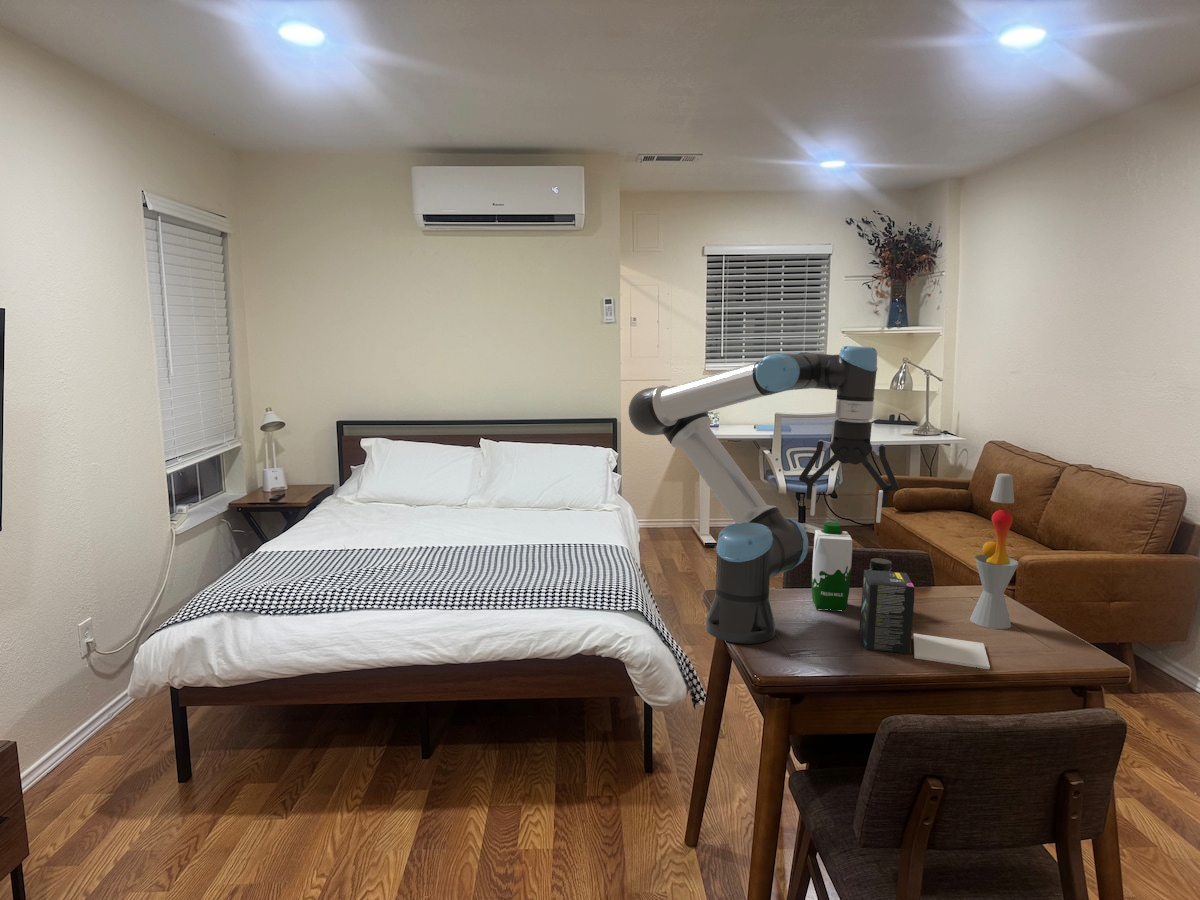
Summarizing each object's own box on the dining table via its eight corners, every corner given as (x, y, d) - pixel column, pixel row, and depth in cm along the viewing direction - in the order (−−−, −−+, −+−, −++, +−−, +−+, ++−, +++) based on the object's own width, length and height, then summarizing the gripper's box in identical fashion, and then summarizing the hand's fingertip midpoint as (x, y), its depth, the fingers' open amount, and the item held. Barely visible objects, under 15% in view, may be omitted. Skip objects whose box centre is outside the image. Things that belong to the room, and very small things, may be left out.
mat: (914, 658, 162) (914, 655, 162) (913, 635, 174) (913, 633, 174) (989, 669, 157) (989, 666, 157) (983, 645, 169) (983, 643, 169)
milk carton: (844, 601, 196) (849, 522, 193) (850, 613, 187) (856, 531, 184) (808, 598, 197) (812, 521, 194) (813, 611, 189) (818, 530, 186)
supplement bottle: (872, 614, 187) (876, 565, 185) (856, 604, 194) (859, 557, 192) (897, 612, 189) (901, 563, 187) (880, 602, 196) (884, 556, 194)
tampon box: (911, 654, 164) (916, 587, 162) (864, 650, 166) (869, 583, 164) (902, 635, 175) (907, 571, 173) (858, 631, 177) (863, 568, 174)
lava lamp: (1019, 623, 183) (1034, 475, 178) (1001, 632, 177) (1016, 479, 172) (980, 612, 190) (993, 469, 185) (962, 620, 184) (975, 473, 179)
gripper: (791, 417, 167) (784, 515, 171) (917, 426, 159) (907, 528, 163) (794, 414, 174) (787, 507, 178) (915, 422, 166) (906, 520, 170)
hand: (844, 517), depth 170 cm, fingers open, 13 cm apart
